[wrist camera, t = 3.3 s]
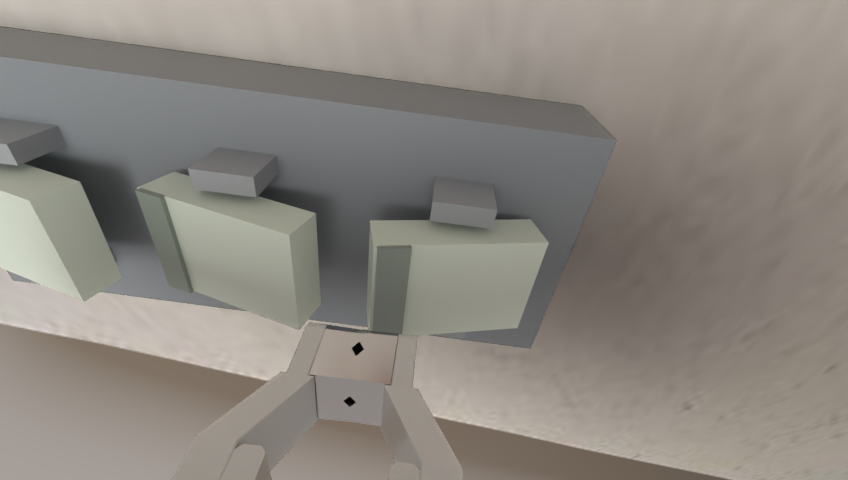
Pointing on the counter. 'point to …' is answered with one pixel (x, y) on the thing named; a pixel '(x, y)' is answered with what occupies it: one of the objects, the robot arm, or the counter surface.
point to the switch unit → (296, 155)
